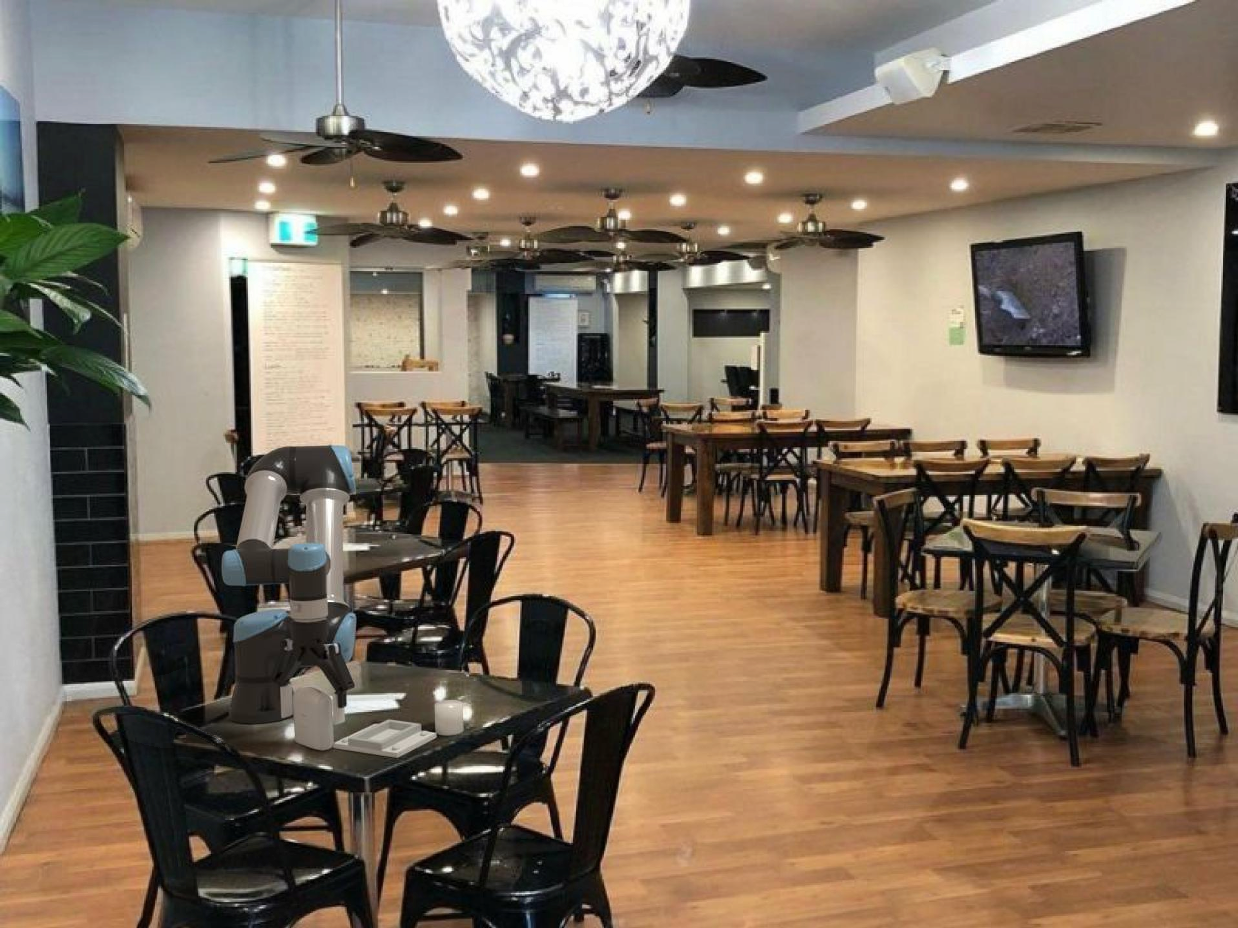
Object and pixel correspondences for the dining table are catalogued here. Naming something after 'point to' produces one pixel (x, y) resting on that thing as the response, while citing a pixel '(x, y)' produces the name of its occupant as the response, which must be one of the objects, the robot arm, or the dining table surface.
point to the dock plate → (386, 739)
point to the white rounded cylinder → (449, 717)
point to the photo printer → (313, 718)
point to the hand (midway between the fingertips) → (312, 719)
